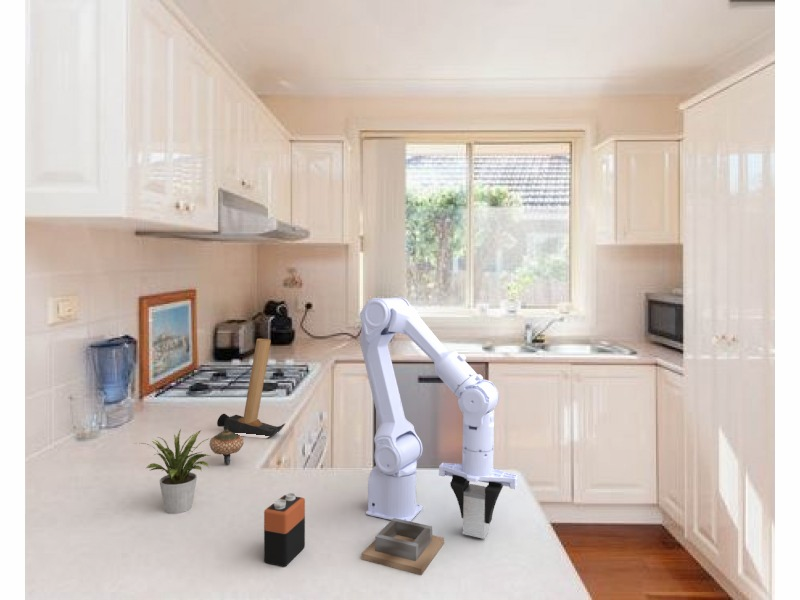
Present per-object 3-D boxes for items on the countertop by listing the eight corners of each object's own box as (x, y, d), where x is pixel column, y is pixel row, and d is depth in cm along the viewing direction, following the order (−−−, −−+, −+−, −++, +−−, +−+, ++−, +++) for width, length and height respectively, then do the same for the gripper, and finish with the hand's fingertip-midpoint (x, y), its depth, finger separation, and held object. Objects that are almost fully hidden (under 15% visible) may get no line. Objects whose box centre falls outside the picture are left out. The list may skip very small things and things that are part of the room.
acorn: (206, 463, 130) (205, 424, 130) (238, 457, 135) (238, 419, 134) (213, 473, 123) (213, 432, 123) (247, 466, 128) (247, 427, 128)
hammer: (282, 441, 155) (298, 346, 152) (273, 447, 150) (291, 348, 147) (225, 424, 160) (240, 331, 157) (215, 428, 155) (231, 333, 152)
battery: (262, 563, 85) (262, 504, 84) (284, 543, 91) (284, 488, 91) (285, 568, 83) (285, 508, 83) (305, 547, 90) (306, 492, 89)
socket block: (361, 559, 86) (361, 539, 86) (389, 530, 96) (389, 512, 96) (421, 575, 82) (421, 553, 82) (444, 543, 92) (444, 524, 92)
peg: (462, 534, 94) (463, 491, 94) (469, 524, 98) (469, 483, 97) (484, 538, 92) (484, 495, 92) (489, 529, 96) (490, 487, 96)
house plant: (137, 534, 94) (136, 446, 93) (129, 505, 105) (128, 428, 105) (217, 515, 102) (216, 434, 101) (201, 490, 113) (201, 418, 113)
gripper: (433, 447, 94) (432, 519, 94) (512, 460, 88) (510, 536, 88) (446, 437, 100) (445, 504, 101) (520, 447, 94) (518, 519, 95)
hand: (476, 518), depth 95 cm, fingers closed on peg, 4 cm apart
